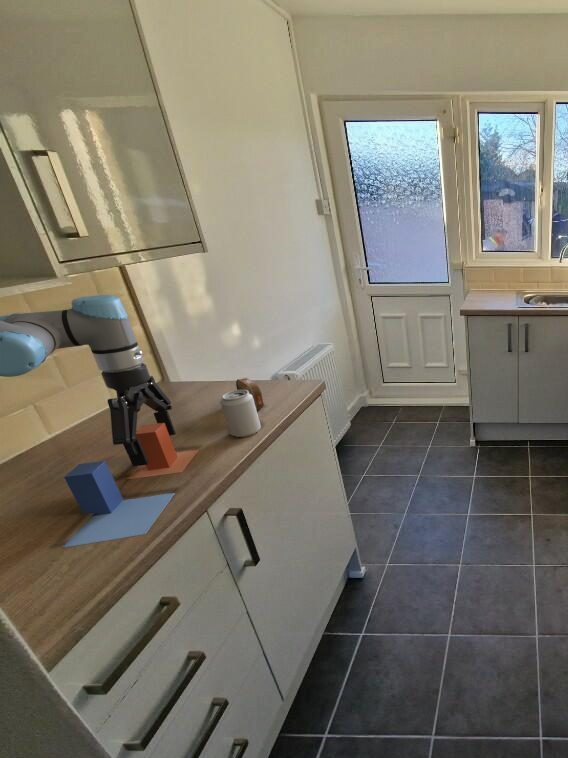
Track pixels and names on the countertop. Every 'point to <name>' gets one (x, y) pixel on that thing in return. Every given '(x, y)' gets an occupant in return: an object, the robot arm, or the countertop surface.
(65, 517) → the countertop surface
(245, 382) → the brown curved piece
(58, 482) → the countertop surface
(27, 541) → the countertop surface
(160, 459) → the terracotta block
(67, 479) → the blue block
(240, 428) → the can
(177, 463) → the terracotta mat
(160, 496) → the blue mat
